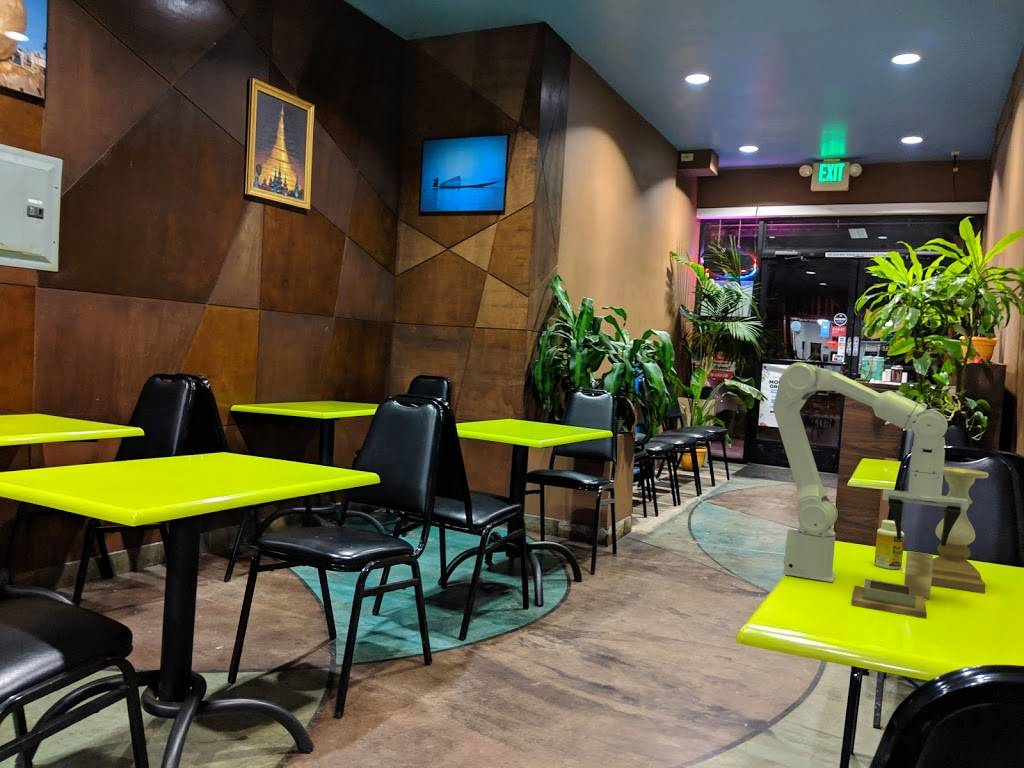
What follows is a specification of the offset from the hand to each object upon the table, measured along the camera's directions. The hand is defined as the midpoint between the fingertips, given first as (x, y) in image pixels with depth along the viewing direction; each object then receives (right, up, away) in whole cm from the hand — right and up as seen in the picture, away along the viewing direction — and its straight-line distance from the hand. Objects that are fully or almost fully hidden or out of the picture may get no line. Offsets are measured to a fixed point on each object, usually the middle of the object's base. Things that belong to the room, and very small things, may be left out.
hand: (920, 541), depth 153 cm
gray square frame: (-10, -10, -8) cm, 16 cm away
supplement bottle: (+5, -11, +24) cm, 27 cm away
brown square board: (-10, -10, -8) cm, 16 cm away
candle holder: (+13, -11, +13) cm, 21 cm away
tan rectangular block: (-1, -10, 0) cm, 10 cm away
